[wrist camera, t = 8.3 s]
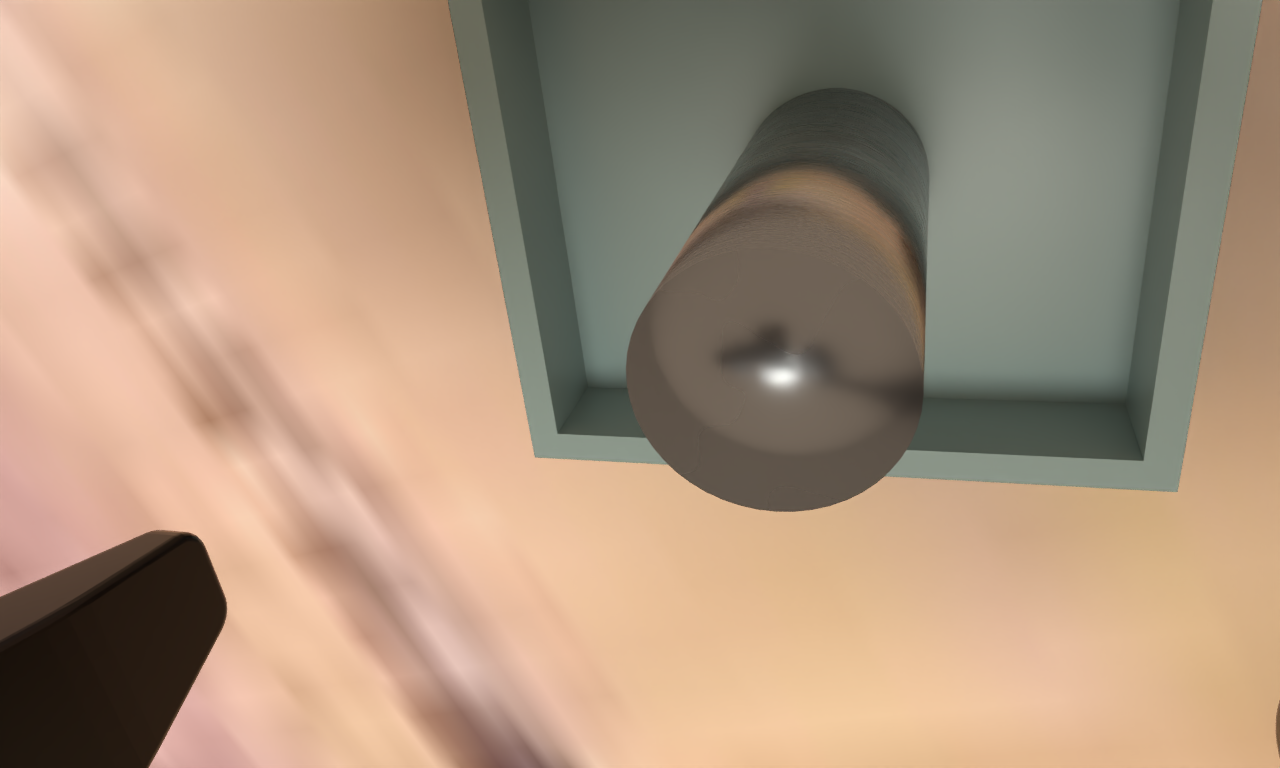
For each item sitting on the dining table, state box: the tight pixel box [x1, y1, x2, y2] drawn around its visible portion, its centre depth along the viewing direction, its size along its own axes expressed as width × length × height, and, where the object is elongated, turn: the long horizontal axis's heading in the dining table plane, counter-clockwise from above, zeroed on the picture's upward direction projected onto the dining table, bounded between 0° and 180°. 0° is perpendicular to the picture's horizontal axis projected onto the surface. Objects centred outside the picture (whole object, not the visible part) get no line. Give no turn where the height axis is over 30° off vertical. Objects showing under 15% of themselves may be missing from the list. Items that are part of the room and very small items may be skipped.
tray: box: [448, 0, 1262, 492], centre depth 17 cm, size 10×12×3 cm
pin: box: [626, 88, 929, 512], centre depth 14 cm, size 3×3×8 cm
